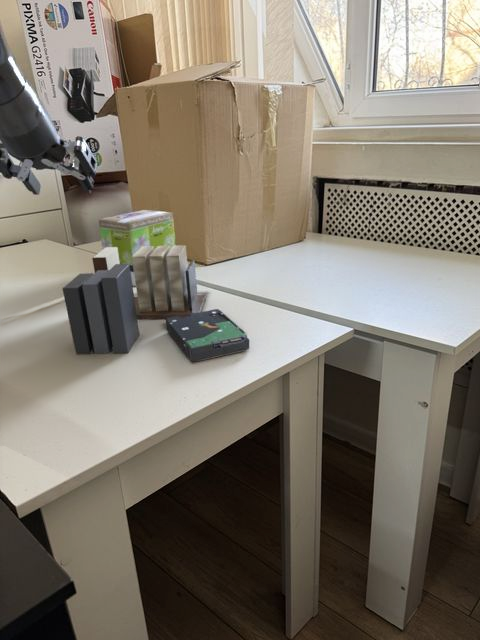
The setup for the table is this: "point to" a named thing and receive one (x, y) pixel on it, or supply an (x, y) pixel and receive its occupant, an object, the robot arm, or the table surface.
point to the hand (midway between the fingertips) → (63, 189)
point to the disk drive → (207, 335)
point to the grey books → (102, 311)
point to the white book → (106, 259)
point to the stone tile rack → (165, 283)
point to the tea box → (137, 233)
